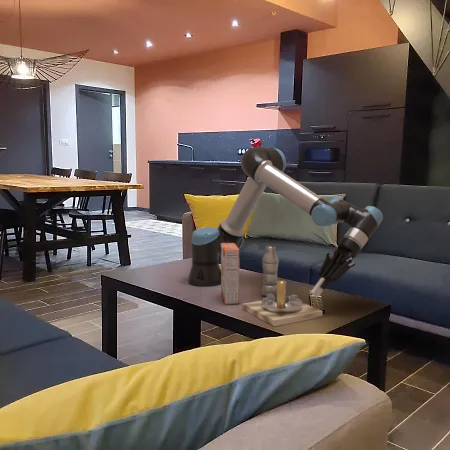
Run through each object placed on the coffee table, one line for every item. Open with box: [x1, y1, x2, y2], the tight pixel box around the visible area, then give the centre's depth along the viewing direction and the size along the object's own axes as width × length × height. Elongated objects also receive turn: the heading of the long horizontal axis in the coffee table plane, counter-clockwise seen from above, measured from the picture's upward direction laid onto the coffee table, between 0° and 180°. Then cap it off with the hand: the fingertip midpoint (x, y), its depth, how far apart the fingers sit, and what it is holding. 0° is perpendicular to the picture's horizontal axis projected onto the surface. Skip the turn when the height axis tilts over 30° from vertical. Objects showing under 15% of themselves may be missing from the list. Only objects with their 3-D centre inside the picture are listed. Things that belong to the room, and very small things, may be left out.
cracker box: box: [220, 243, 240, 305], centre depth 181 cm, size 14×6×21 cm, turn 6°
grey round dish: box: [261, 280, 303, 313], centre depth 164 cm, size 16×14×11 cm
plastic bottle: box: [261, 244, 280, 297], centre depth 185 cm, size 6×7×20 cm
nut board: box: [242, 300, 324, 327], centre depth 166 cm, size 20×20×2 cm
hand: (314, 294), depth 163 cm, fingers closed
